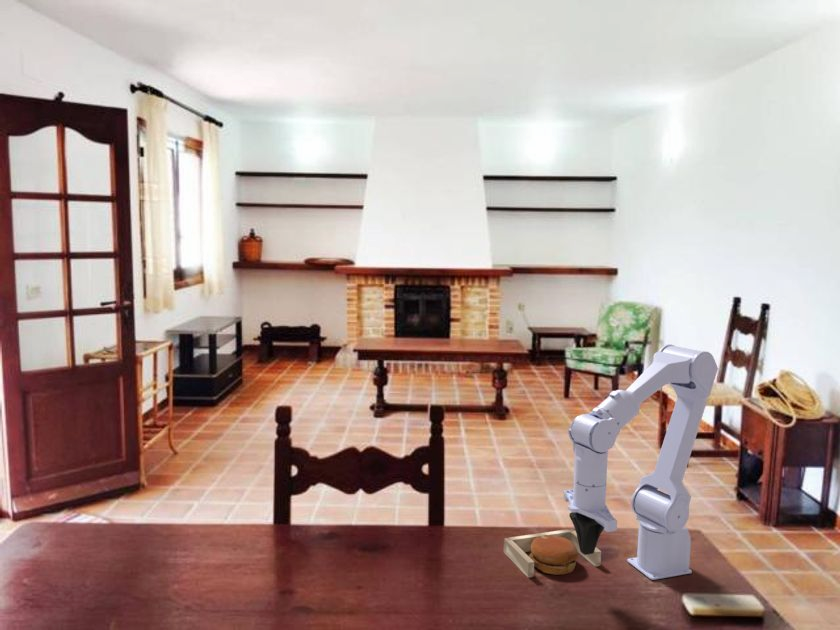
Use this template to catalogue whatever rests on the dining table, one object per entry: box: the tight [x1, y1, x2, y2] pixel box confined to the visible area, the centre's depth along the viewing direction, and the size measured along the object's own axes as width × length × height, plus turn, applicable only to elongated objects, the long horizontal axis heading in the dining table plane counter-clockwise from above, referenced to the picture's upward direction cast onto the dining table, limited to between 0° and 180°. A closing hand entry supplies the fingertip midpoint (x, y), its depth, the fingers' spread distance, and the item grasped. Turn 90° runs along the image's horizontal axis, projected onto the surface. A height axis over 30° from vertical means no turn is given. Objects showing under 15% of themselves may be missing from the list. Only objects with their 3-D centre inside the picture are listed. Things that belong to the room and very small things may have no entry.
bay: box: [503, 528, 602, 578], centre depth 135 cm, size 16×11×3 cm
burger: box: [528, 535, 579, 576], centre depth 134 cm, size 10×9×5 cm
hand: (587, 552), depth 123 cm, fingers closed
